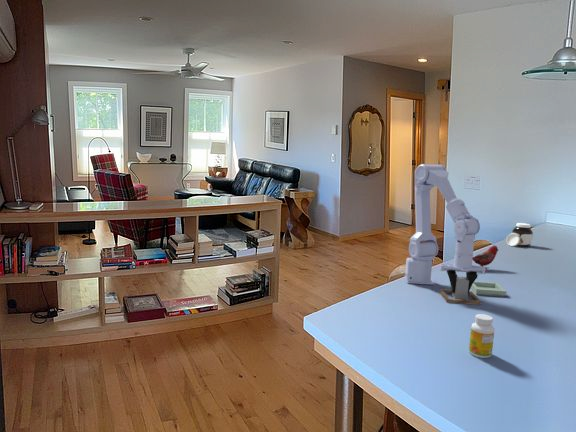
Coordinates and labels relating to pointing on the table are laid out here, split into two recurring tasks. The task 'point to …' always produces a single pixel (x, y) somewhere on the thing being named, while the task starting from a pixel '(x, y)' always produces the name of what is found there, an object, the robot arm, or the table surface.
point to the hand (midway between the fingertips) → (459, 292)
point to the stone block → (461, 288)
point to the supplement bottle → (482, 336)
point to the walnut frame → (474, 301)
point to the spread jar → (520, 235)
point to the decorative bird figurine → (486, 256)
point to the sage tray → (488, 289)
